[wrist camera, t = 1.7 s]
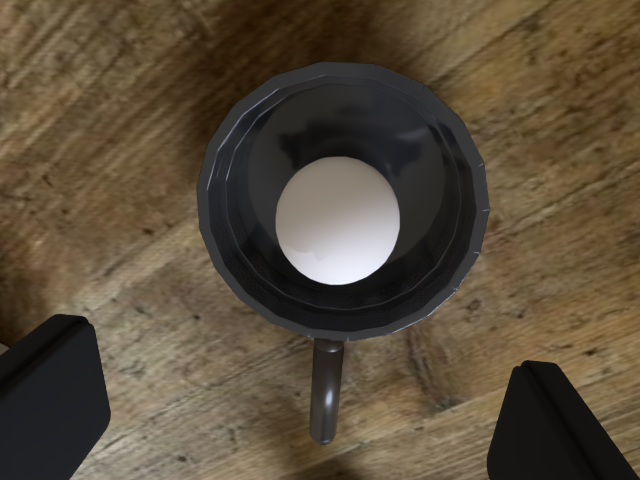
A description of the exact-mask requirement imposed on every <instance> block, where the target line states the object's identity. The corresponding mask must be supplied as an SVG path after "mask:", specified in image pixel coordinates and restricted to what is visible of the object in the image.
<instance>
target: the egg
mask: <svg viewBox="0 0 640 480" xmlns="http://www.w3.org/2000/svg"><path fill="white" fill-rule="evenodd" d="M399 229H400V213H399V207H398V201H397V199H396V196H395V194H394V192H393V189H392V187H391V186H390V184H389V183H388V182H387V180H386V179H385V178H384V177H383V176H382V175H381V174H380V173H379V172H378V171H377V170H376V169H375V168H374V167H372V166H370V165H368V164H366V163H364V162H362V161H360V160H358V159H353V158H349V157H326V158H322V159H319V160H317V161H314V162H312V163H310V164H308V165H307V166H305V167H304V168H302V169H301V170H299V171H298V172H297V173H296V174H295V175H294V176H293V177H292V178H291V179H290V181H289V182H288V184H287V185H286V187H285V188H284V190H283V192H282V194H281V197H280V199H279V201H278V205H277V212H276V233H277V237H278V241H279V244H280V247H281V249H282V251H283V253H284V255H285V256H286V257H287V259H288V260H289V261H290V262H291V264H292V265H293V266H294V267H295V268H296V269H297V270H298V271H299V272H301V273H302V274H304V275H305V276H307V277H309V278H310V279H312V280H315V281H317V282H320V283H325V284H330V285H343V284H348V283H352V282H355V281H358V280H360V279H363V278H365V277H367V276H369V275H370V274H371V273H373V272H374V271H376V270H377V269H379V268H380V267H381V266H382V265H383V264H384V263H385V262H386V260H387V258H388V257H389V255H390V254H391V252H392V250H393V248H394V246H395V243H396V240H397V237H398V233H399Z"/></svg>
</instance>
